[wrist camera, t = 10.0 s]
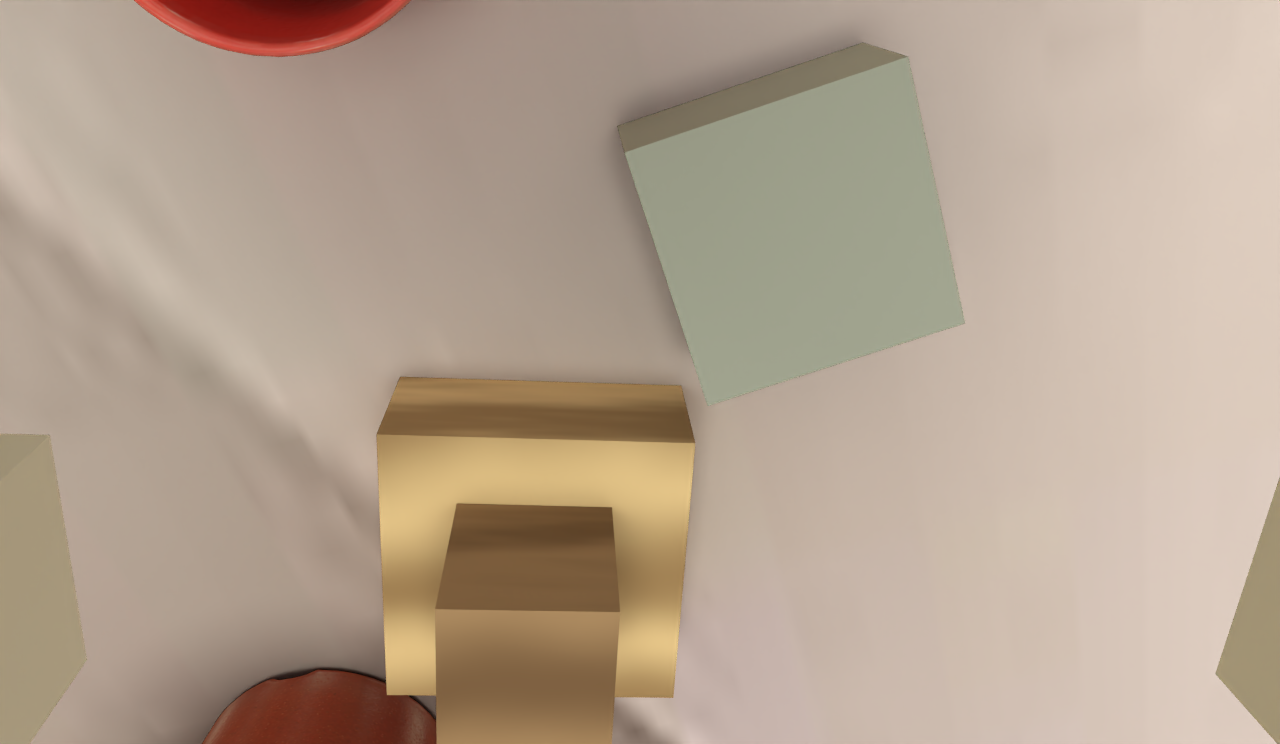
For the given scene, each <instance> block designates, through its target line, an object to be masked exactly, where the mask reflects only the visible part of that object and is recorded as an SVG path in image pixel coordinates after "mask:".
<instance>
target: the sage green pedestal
mask: <svg viewBox="0 0 1280 744" xmlns="http://www.w3.org/2000/svg"><path fill="white" fill-rule="evenodd" d="M617 127H618V131H619V134H620V138H621V142H622V145H623V149H624V153H625V156H626V159H627V162H628V165H629V168H630V171H631V174H632V177H633V180H634V183H635V186H636V189H637V192H638V195H639V198H640V201H641V204H642V208H643V211H644V214H645V217H646V220H647V223H648V226H649V229H650V232H651V235H652V238H653V241H654V244H655V247H656V250H657V253H658V256H659V259H660V262H661V265H662V268H663V271H664V274H665V278H666V281H667V284H668V287H669V290H670V293H671V296H672V299H673V302H674V305H675V308H676V311H677V314H678V317H679V320H680V323H681V326H682V329H683V332H684V335H685V338H686V341H687V344H688V347H689V351H690V354H691V357H692V360H693V363H694V366H695V369H696V372H697V375H698V378H699V381H700V384H701V387H702V390H703V393H704V396H705V399H706V402H707V405H708V406H709V405H713V404H716V403H719V402H722V401H725V400H728V399H731V398H734V397H737V396H741V395H744V394H747V393H750V392H753V391H756V390H759V389H762V388H765V387H769V386H772V385H775V384H778V383H781V382H784V381H787V380H790V379H793V378H797V377H800V376H803V375H806V374H809V373H812V372H815V371H818V370H822V369H825V368H828V367H831V366H834V365H837V364H840V363H843V362H846V361H850V360H853V359H856V358H859V357H862V356H865V355H868V354H871V353H874V352H878V351H881V350H884V349H887V348H890V347H893V346H896V345H899V344H902V343H906V342H909V341H912V340H915V339H918V338H921V337H924V336H927V335H930V334H934V333H937V332H940V331H943V330H946V329H949V328H952V327H955V326H958V325H962V324H965V321H964V316H963V311H962V307H961V302H960V297H959V293H958V288H957V283H956V279H955V274H954V269H953V264H952V260H951V255H950V250H949V246H948V241H947V236H946V232H945V227H944V222H943V218H942V213H941V208H940V204H939V199H938V194H937V190H936V185H935V180H934V176H933V171H932V166H931V162H930V157H929V152H928V148H927V143H926V138H925V134H924V129H923V124H922V120H921V115H920V110H919V106H918V101H917V96H916V91H915V87H914V82H913V77H912V73H911V68H910V63H909V59H908V56H904V55H901V54H898V53H895V52H892V51H888V50H885V49H882V48H879V47H876V46H872V45H869V44H866V43H860V44H857V45H854V46H851V47H849V48H846V49H843V50H840V51H837V52H834V53H831V54H828V55H825V56H822V57H819V58H816V59H813V60H810V61H807V62H804V63H801V64H798V65H796V66H793V67H790V68H787V69H784V70H781V71H778V72H775V73H772V74H769V75H766V76H763V77H760V78H757V79H754V80H751V81H748V82H746V83H743V84H740V85H737V86H734V87H731V88H728V89H725V90H722V91H719V92H716V93H713V94H710V95H707V96H704V97H701V98H698V99H695V100H693V101H690V102H687V103H684V104H681V105H678V106H675V107H672V108H669V109H666V110H663V111H660V112H657V113H654V114H651V115H648V116H645V117H643V118H640V119H637V120H634V121H631V122H628V123H625V124H622V125H619V126H617Z"/></svg>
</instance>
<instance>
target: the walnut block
mask: <svg viewBox="0 0 1280 744" xmlns="http://www.w3.org/2000/svg"><path fill="white" fill-rule="evenodd" d="M619 622H620V604H619V591H618V578H617V565H616V552H615V540H614V527H613V514H612V507H580V506H539V505H497V504H456V509H455V514H454V519H453V524H452V529H451V534H450V539H449V544H448V548H447V553H446V558H445V563H444V568H443V573H442V578H441V583H440V588H439V592H438V597H437V602H436V607H435V648H436V733H437V744H612V728H613V713H614V698H615V683H616V668H617V653H618V637H619Z"/></svg>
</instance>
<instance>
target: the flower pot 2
mask: <svg viewBox="0 0 1280 744" xmlns="http://www.w3.org/2000/svg"><path fill="white" fill-rule="evenodd" d="M202 744H437V733H436V721H435V719H434V718H433V717H432V716H431V715H430V714H429V713H428V712H427V711H426V710H425V709H424V708H423V707H422V706H421V705H420V704H419V703H417V702H416V701H415V700H413V699H412V698H411V697H409V696H408V695H387V687H386V683H383V682H381V681H379V680H376V679H373V678H370V677H367V676H363V675H360V674H355V673H350V672H344V671H333V670H316V671H313V672H311V673H309V674H306V675H303V676H299V677H295V678H290V679H284V680H276V679H270V680H267V681H265V682H263V683H260V684H258V685H257V686H255V687H253V688H251V689H249V690H248V691H246V692H245V693H243V694H242V695H241V696H240V697H238V698H237V699H236V700H235V701H234V702H232V703H231V704H230V705H229V706H228V707H227V708H226V709H225V710H224V711H223V712H222V714H221V715H220V716H219V718H218V719H217V721H216V722H215V724H214V725H213V727H212V728H211V730H210V732H209V733H208V735H207V737H206V738H205V740H204V741H203V743H202Z"/></svg>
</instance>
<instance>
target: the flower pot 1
mask: <svg viewBox="0 0 1280 744" xmlns="http://www.w3.org/2000/svg"><path fill="white" fill-rule="evenodd" d="M134 1H135V2H136V3H138V4H139V5H140V6H141V7H142V8H144V9H145V10H146V11H147V12H149V13H150V14H152V15H153V16H155V17H156V18H157V19H159V20H160V21H162V22H163V23H165V24H167V25H168V26H170V27H172V28H173V29H175V30H177V31H179V32H181V33H183V34H185V35H187V36H189V37H191V38H193V39H195V40H197V41H200V42H203V43H205V44H208V45H211V46H214V47H217V48H221V49H224V50H228V51H233V52H238V53H243V54H249V55H256V56H275V57H284V56H297V55H305V54H311V53H317V52H321V51H325V50H329V49H333V48H336V47H339V46H342V45H344V44H347V43H350V42H352V41H354V40H357V39H359V38H361V37H363V36H365V35H366V34H368V33H370V32H371V31H373V30H375V29H376V28H378V27H380V26H381V25H383V24H384V23H385V22H387V21H388V20H390V19H391V18H392V17H393V16H394V15H396V14H397V13H398V12H399V11H400V10H401V9H403V8H404V7H405V6H406V5H407V4H408V3H409V2H410V1H411V0H134Z"/></svg>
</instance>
